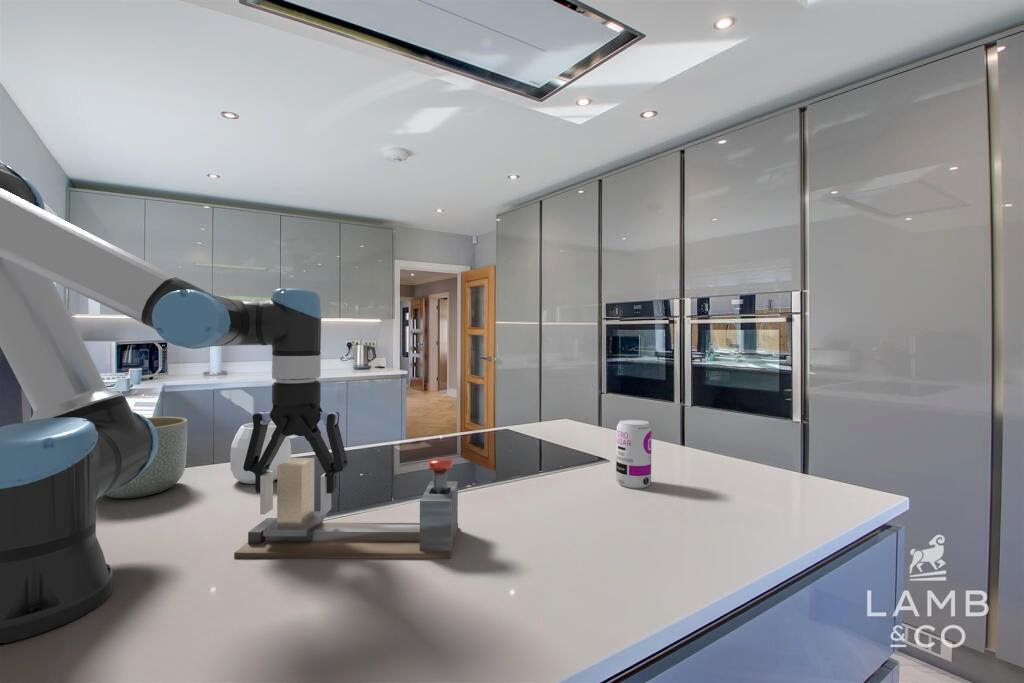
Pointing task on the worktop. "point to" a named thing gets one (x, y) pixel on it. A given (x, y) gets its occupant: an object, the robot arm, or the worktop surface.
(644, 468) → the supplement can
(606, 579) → the worktop surface
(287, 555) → the rail deck
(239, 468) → the white vase
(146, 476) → the planter
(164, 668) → the worktop surface
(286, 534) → the carriage
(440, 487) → the red mushroom button
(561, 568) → the worktop surface
